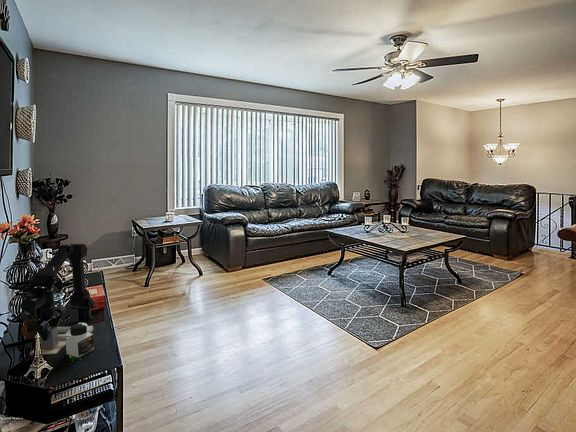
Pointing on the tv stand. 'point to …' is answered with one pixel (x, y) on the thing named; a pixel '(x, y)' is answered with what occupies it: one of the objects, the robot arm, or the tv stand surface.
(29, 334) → the wooden figurine
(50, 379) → the tv stand surface
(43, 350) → the pad
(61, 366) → the tv stand surface
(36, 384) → the tv stand surface
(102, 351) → the tv stand surface
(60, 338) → the power strip
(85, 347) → the medicine bottle
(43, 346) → the charger
